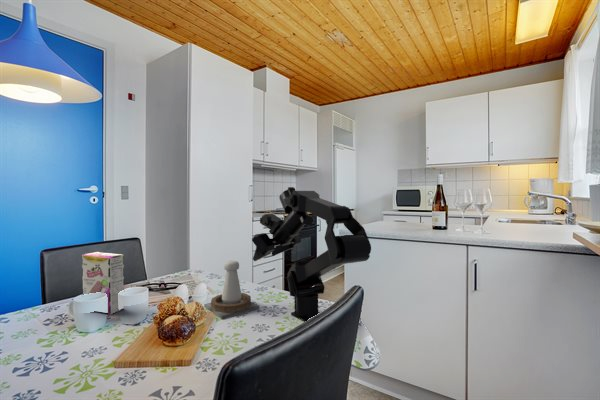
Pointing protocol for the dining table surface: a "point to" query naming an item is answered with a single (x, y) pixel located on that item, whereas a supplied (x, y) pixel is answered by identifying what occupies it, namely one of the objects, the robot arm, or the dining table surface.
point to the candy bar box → (104, 276)
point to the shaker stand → (230, 306)
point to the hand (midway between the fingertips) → (263, 257)
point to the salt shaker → (231, 284)
